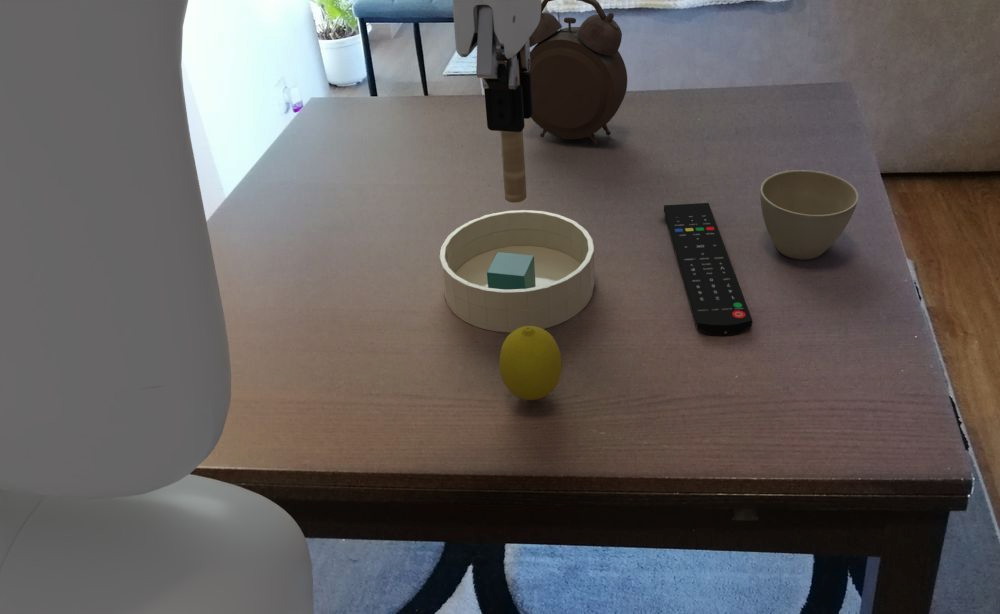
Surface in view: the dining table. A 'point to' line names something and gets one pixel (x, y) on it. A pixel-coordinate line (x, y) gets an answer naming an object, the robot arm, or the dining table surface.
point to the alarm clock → (576, 74)
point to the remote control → (707, 270)
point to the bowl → (556, 259)
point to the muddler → (513, 161)
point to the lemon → (530, 363)
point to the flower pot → (806, 211)
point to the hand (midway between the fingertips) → (510, 121)
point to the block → (511, 271)
